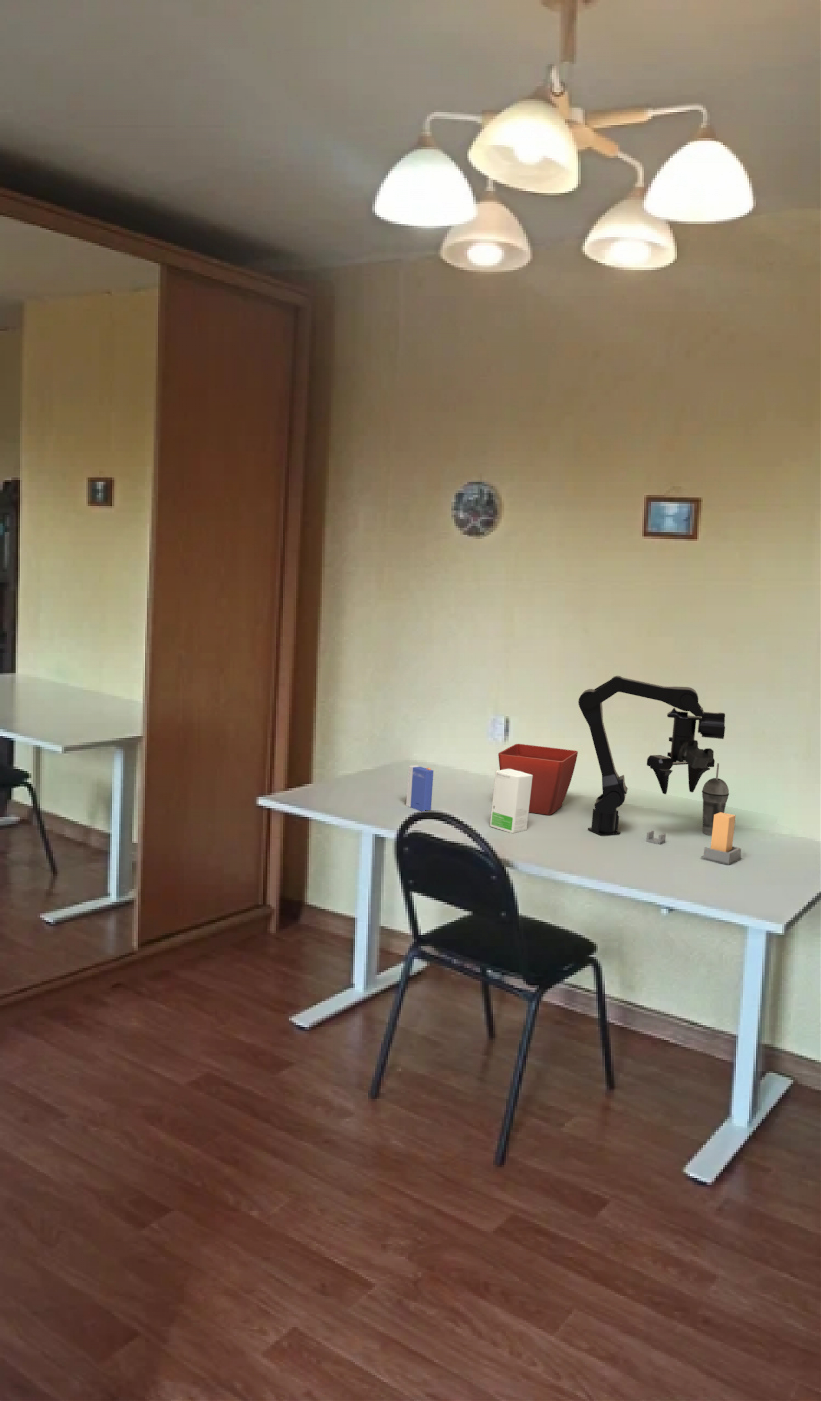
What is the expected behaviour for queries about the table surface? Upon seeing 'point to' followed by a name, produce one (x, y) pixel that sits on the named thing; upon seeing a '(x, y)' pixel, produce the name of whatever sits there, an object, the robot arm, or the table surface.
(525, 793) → the skincare box
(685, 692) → the robot arm
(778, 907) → the table surface
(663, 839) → the clip
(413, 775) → the walkman
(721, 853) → the holder
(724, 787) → the beverage cup
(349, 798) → the table surface
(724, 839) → the plug
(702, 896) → the table surface
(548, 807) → the plant pot
